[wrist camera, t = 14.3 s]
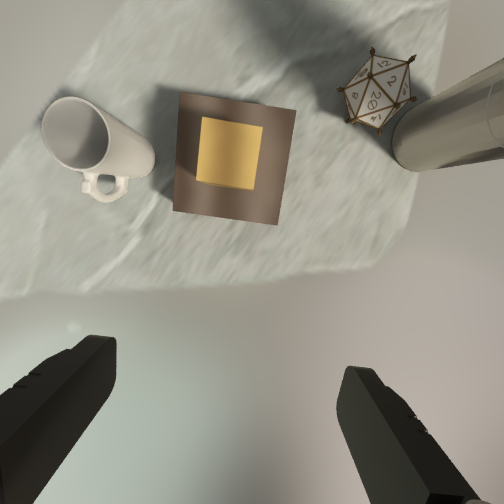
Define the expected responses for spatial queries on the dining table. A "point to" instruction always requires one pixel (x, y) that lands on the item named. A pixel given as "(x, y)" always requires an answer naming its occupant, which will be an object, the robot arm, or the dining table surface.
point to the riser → (268, 167)
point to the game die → (378, 91)
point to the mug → (95, 146)
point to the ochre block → (228, 153)
